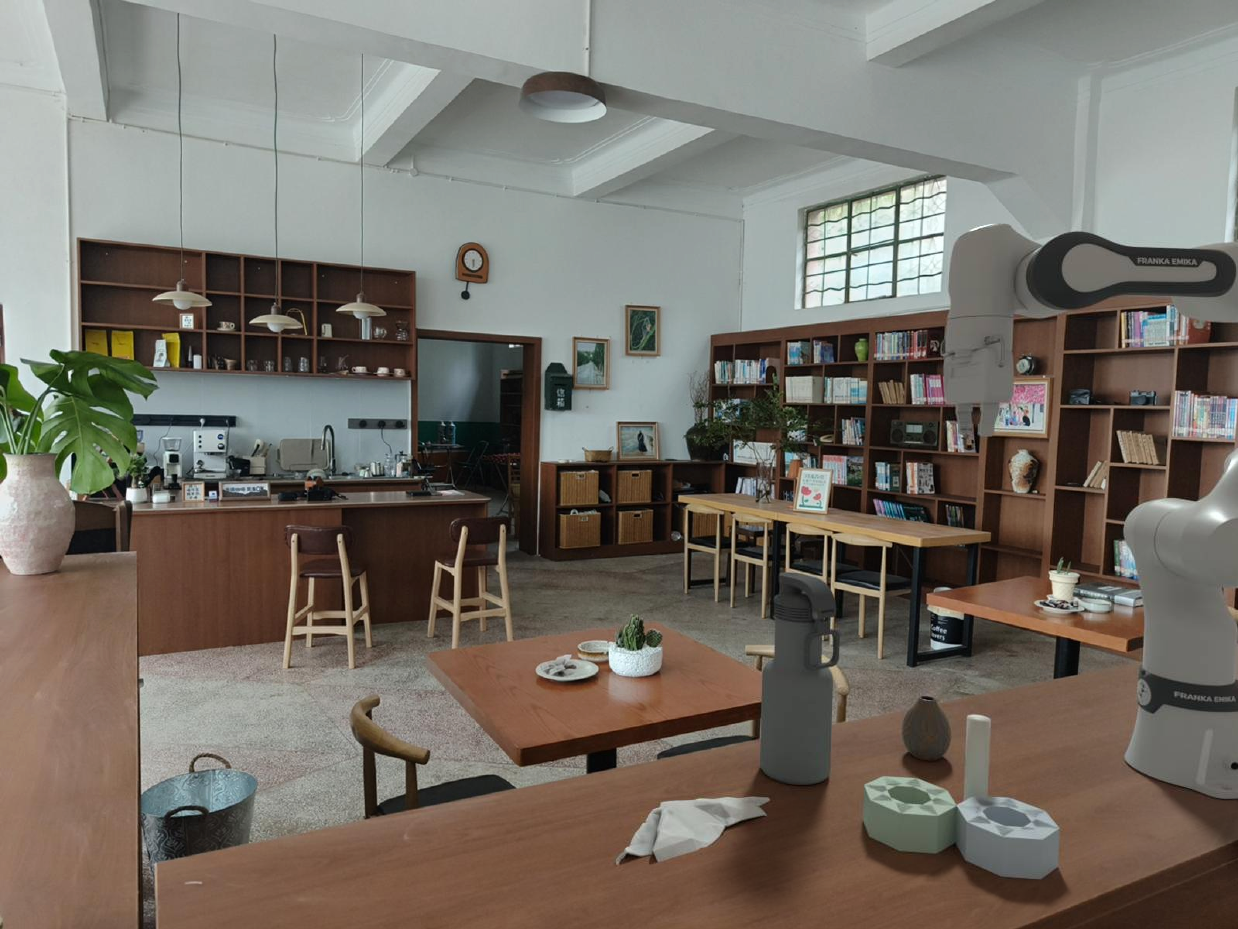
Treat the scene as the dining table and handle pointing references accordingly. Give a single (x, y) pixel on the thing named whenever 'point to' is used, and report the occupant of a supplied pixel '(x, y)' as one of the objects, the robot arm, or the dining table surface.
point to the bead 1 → (909, 814)
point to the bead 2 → (1007, 837)
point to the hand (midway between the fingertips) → (975, 435)
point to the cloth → (689, 825)
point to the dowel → (977, 756)
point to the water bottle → (799, 684)
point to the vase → (926, 730)
